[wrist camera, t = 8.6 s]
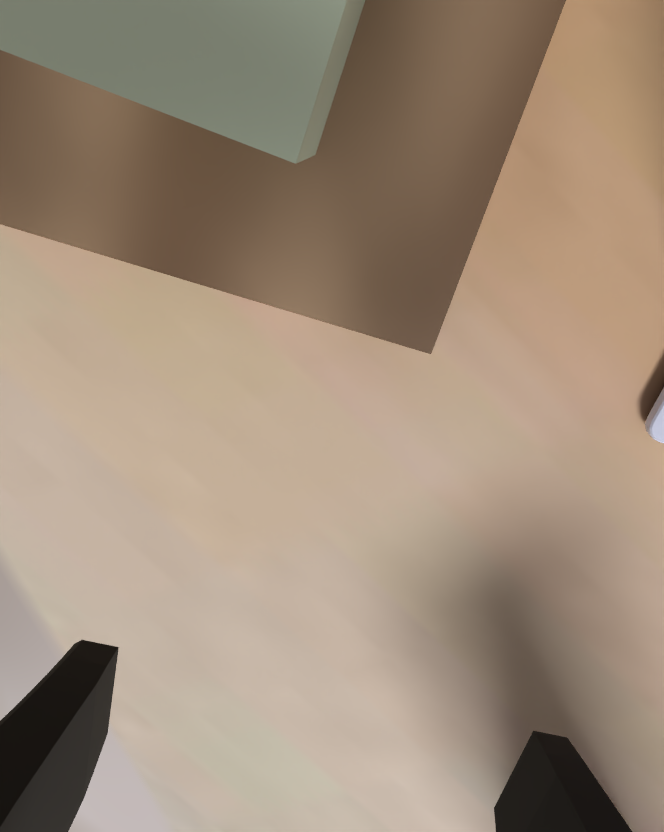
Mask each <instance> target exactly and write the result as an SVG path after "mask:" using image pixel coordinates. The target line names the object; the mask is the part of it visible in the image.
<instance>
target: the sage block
mask: <svg viewBox="0 0 664 832" xmlns="http://www.w3.org/2000/svg"><path fill="white" fill-rule="evenodd" d="M364 3H365V0H0V50H2V51H5V52H7V53H10V54H12V55H15V56H18V57H20V58H23V59H25V60H28V61H31V62H33V63H36V64H38V65H41V66H44V67H46V68H49V69H51V70H54V71H57V72H59V73H62V74H64V75H67V76H70V77H72V78H75V79H77V80H80V81H82V82H85V83H88V84H90V85H93V86H95V87H98V88H101V89H103V90H106V91H108V92H111V93H114V94H116V95H119V96H121V97H124V98H127V99H129V100H132V101H134V102H137V103H140V104H142V105H145V106H147V107H150V108H152V109H155V110H158V111H160V112H163V113H165V114H168V115H171V116H173V117H176V118H178V119H181V120H184V121H186V122H189V123H191V124H194V125H197V126H199V127H202V128H204V129H207V130H210V131H212V132H215V133H217V134H220V135H222V136H225V137H228V138H230V139H233V140H235V141H238V142H241V143H243V144H246V145H248V146H251V147H254V148H256V149H259V150H261V151H264V152H267V153H269V154H272V155H274V156H277V157H280V158H282V159H285V160H287V161H290V162H292V163H295V164H296V163H299V162H301V161H303V160H305V159H308V158H310V157H312V156H314V155H315V154H316V151H317V148H318V145H319V142H320V139H321V136H322V133H323V130H324V127H325V123H326V120H327V117H328V114H329V111H330V108H331V105H332V102H333V99H334V96H335V93H336V89H337V86H338V83H339V80H340V77H341V74H342V71H343V68H344V65H345V62H346V58H347V55H348V52H349V49H350V46H351V43H352V40H353V37H354V34H355V31H356V27H357V24H358V21H359V18H360V15H361V12H362V9H363V6H364Z"/></svg>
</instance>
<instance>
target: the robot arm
mask: <svg viewBox="0 0 664 832" xmlns="http://www.w3.org/2000/svg"><path fill="white" fill-rule="evenodd" d="M645 428H646V431H647V432H648V434H649V435H650V436H651V437H652V438H653V439H655V440H656V441H658V442H661V443H664V388H663V390H662V391H661V393H660V395H659V397H658V399H657V400H656V402H655V404H654V406H653V408H652V409H651V411H650V413H649V415H648V417H647V419H646V422H645ZM117 655H118V647H115V646H110V645H105V644H100V643H95V642H90V641H85V640H81V641H79V642H77V643H75V644H74V645H73V646H72V647H71V649H70V650H69V651H68V652H67V653H66V654H65V655H64V656H63V658H62V659H61V660H60V661H59V662H58V663H57V664H56V665H55V666H54V667H53V669H52V670H51V671H50V672H49V673H48V674H47V675H46V676H45V677H44V678H43V679H42V680H41V681H40V682H39V683H38V684H37V685H36V686H35V687H34V688H33V689H32V690H31V691H30V692H29V693H28V694H27V695H26V697H24V698H23V699H22V701H20V702H19V703H18V704H17V705H16V706H15V707H14V708H13V709H12V710H11V711H10V712H9V713H8V714H7V715H6V716H5V717H4V718H3V719H2V720H1V721H0V832H68V830H69V828H70V827H71V824H72V822H73V820H74V818H75V816H76V814H77V812H78V810H79V807H80V805H81V803H82V801H83V799H84V796H85V794H86V791H87V788H88V785H89V783H90V780H91V777H92V775H93V772H94V769H95V766H96V764H97V761H98V758H99V755H100V752H101V750H102V747H103V744H104V741H105V739H106V736H107V733H108V725H109V717H110V709H111V702H112V694H113V686H114V678H115V671H116V663H117ZM494 812H495V823H496V832H632V831H631V829H630V828H629V826H628V825H627V824H626V822H625V821H624V819H623V818H622V816H621V815H620V813H619V812H618V811H617V809H616V808H615V806H614V805H613V803H612V802H611V800H610V799H609V797H608V796H607V795H606V793H605V792H604V790H603V789H602V787H601V786H600V784H599V783H598V781H597V780H596V778H595V777H594V775H593V774H592V773H591V771H590V770H589V768H588V767H587V765H586V764H585V762H584V761H583V759H582V758H581V757H580V755H579V754H578V752H577V751H576V749H575V748H574V747H573V745H572V744H571V742H570V741H569V740H568V738H566V737H561V736H556V735H551V734H546V733H541V732H537V731H533V733H532V735H531V737H530V739H529V741H528V743H527V745H526V747H525V748H524V750H523V752H522V754H521V756H520V758H519V760H518V762H517V764H516V766H515V768H514V770H513V772H512V774H511V776H510V778H509V780H508V782H507V784H506V786H505V788H504V790H503V792H502V794H501V796H500V798H499V800H498V802H497V804H496V805H495V807H494Z"/></svg>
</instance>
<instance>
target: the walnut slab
mask: <svg viewBox="0 0 664 832" xmlns="http://www.w3.org/2000/svg"><path fill="white" fill-rule="evenodd" d="M565 1H566V0H365V3H364V6H363V9H362V12H361V15H360V18H359V21H358V24H357V27H356V31H355V34H354V37H353V40H352V43H351V46H350V49H349V52H348V55H347V58H346V62H345V65H344V68H343V71H342V74H341V77H340V80H339V83H338V86H337V89H336V93H335V96H334V99H333V102H332V105H331V108H330V111H329V114H328V117H327V120H326V123H325V127H324V130H323V133H322V136H321V139H320V142H319V145H318V148H317V151H316V154H315V155H314V156H312V157H310V158H308V159H305V160H303V161H301V162H299V163H296V164H295V163H292V162H290V161H287V160H285V159H282V158H280V157H277V156H274V155H272V154H269V153H267V152H264V151H261V150H259V149H256V148H254V147H251V146H248V145H246V144H243V143H241V142H238V141H235V140H233V139H230V138H228V137H225V136H222V135H220V134H217V133H215V132H212V131H210V130H207V129H204V128H202V127H199V126H197V125H194V124H191V123H189V122H186V121H184V120H181V119H178V118H176V117H173V116H171V115H168V114H165V113H163V112H160V111H158V110H155V109H152V108H150V107H147V106H145V105H142V104H140V103H137V102H134V101H132V100H129V99H127V98H124V97H121V96H119V95H116V94H114V93H111V92H108V91H106V90H103V89H101V88H98V87H95V86H93V85H90V84H88V83H85V82H82V81H80V80H77V79H75V78H72V77H70V76H67V75H64V74H62V73H59V72H57V71H54V70H51V69H49V68H46V67H44V66H41V65H38V64H36V63H33V62H31V61H28V60H25V59H23V58H20V57H18V56H15V55H12V54H10V53H7V52H5V51H2V50H0V224H2V225H5V226H8V227H12V228H15V229H18V230H22V231H25V232H28V233H31V234H35V235H38V236H41V237H45V238H48V239H51V240H55V241H58V242H61V243H65V244H68V245H71V246H74V247H78V248H81V249H84V250H88V251H91V252H94V253H98V254H101V255H104V256H108V257H111V258H114V259H118V260H121V261H124V262H127V263H131V264H134V265H137V266H141V267H144V268H147V269H151V270H154V271H157V272H161V273H164V274H167V275H171V276H174V277H177V278H180V279H184V280H187V281H190V282H194V283H197V284H200V285H204V286H207V287H210V288H214V289H217V290H220V291H224V292H227V293H230V294H233V295H237V296H240V297H243V298H247V299H250V300H253V301H257V302H260V303H263V304H267V305H270V306H273V307H276V308H280V309H283V310H286V311H290V312H293V313H296V314H300V315H303V316H306V317H310V318H313V319H316V320H320V321H323V322H326V323H329V324H333V325H336V326H339V327H343V328H346V329H349V330H353V331H356V332H359V333H363V334H366V335H369V336H373V337H376V338H379V339H382V340H386V341H389V342H392V343H396V344H399V345H402V346H406V347H409V348H412V349H416V350H419V351H422V352H426V353H429V354H431V353H432V350H433V347H434V345H435V342H436V339H437V337H438V334H439V332H440V329H441V326H442V324H443V321H444V318H445V316H446V313H447V311H448V308H449V305H450V303H451V300H452V297H453V295H454V292H455V290H456V287H457V284H458V282H459V279H460V277H461V274H462V271H463V269H464V266H465V263H466V261H467V258H468V256H469V253H470V250H471V248H472V245H473V242H474V240H475V237H476V235H477V232H478V229H479V227H480V224H481V221H482V219H483V216H484V214H485V211H486V208H487V206H488V203H489V200H490V198H491V195H492V193H493V190H494V187H495V185H496V182H497V180H498V177H499V174H500V172H501V169H502V166H503V164H504V161H505V159H506V156H507V153H508V151H509V148H510V145H511V143H512V140H513V138H514V135H515V132H516V130H517V127H518V124H519V122H520V119H521V117H522V114H523V111H524V109H525V106H526V103H527V101H528V98H529V96H530V93H531V90H532V88H533V85H534V82H535V80H536V77H537V75H538V72H539V69H540V67H541V64H542V62H543V59H544V56H545V54H546V51H547V48H548V46H549V43H550V41H551V38H552V35H553V33H554V30H555V27H556V25H557V22H558V20H559V17H560V14H561V12H562V9H563V6H564V4H565Z"/></svg>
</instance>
